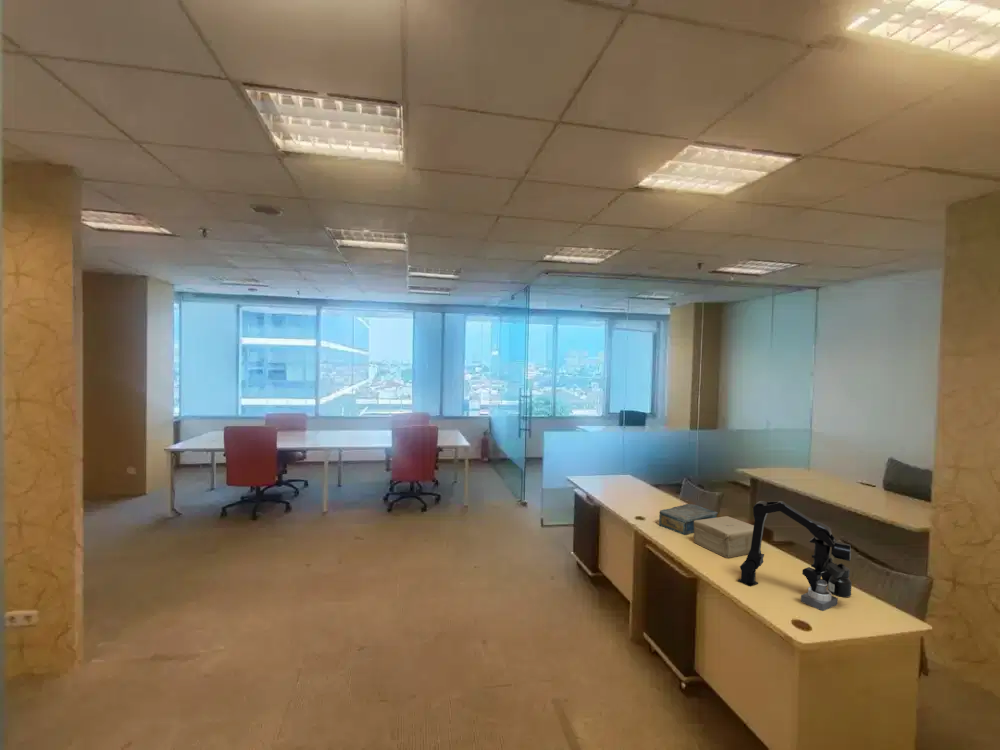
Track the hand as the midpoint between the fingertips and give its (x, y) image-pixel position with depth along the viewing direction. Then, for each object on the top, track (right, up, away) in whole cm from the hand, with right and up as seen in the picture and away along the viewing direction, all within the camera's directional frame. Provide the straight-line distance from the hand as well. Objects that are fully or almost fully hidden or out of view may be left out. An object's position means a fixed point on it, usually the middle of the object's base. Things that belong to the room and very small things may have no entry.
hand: (819, 589), depth 218 cm
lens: (0, -3, 0) cm, 3 cm away
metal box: (-22, -2, +96) cm, 99 cm away
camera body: (0, -6, 0) cm, 6 cm away
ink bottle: (+16, -7, +11) cm, 20 cm away
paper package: (-13, -4, +62) cm, 64 cm away
